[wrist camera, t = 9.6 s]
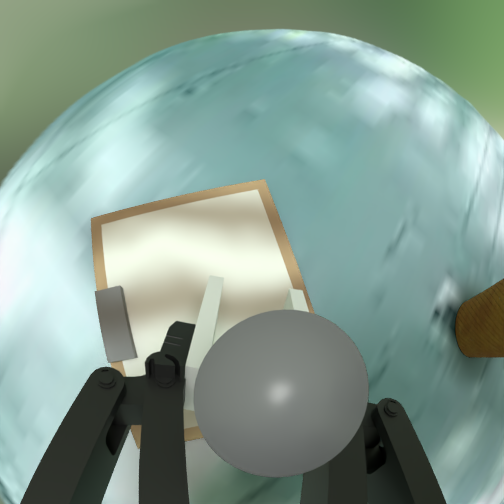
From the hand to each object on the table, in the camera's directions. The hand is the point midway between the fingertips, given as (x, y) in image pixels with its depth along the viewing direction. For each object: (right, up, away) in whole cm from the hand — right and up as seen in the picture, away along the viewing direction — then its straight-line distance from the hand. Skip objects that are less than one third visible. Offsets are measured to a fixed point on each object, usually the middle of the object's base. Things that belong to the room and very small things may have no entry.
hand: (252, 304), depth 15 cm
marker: (-1, -5, +2) cm, 5 cm away
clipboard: (-4, -1, +4) cm, 6 cm away
